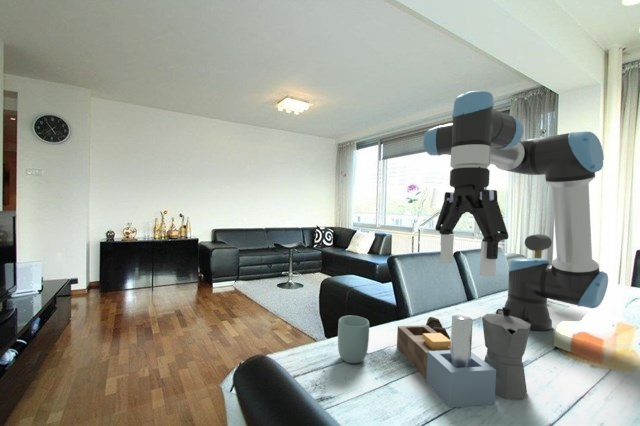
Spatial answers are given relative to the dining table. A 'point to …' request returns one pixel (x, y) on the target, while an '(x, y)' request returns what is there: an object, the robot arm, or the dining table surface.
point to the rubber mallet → (538, 243)
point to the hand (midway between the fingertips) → (464, 268)
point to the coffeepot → (506, 352)
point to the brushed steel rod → (461, 341)
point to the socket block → (415, 345)
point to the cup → (353, 338)
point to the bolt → (437, 326)
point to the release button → (436, 341)
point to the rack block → (461, 380)
